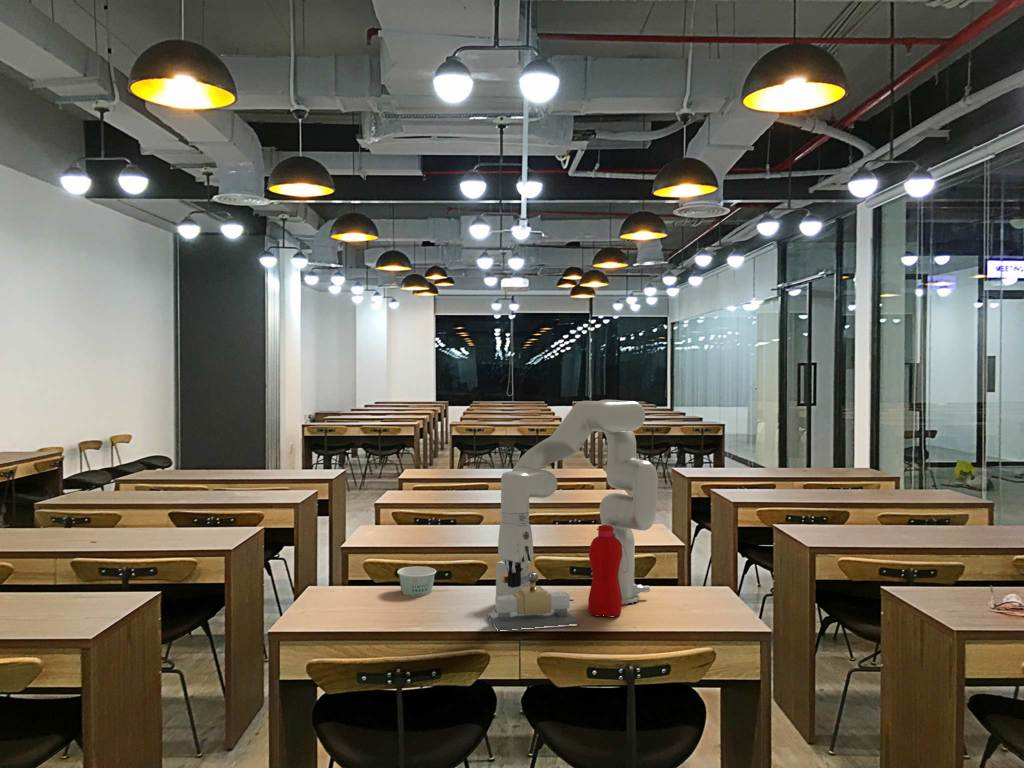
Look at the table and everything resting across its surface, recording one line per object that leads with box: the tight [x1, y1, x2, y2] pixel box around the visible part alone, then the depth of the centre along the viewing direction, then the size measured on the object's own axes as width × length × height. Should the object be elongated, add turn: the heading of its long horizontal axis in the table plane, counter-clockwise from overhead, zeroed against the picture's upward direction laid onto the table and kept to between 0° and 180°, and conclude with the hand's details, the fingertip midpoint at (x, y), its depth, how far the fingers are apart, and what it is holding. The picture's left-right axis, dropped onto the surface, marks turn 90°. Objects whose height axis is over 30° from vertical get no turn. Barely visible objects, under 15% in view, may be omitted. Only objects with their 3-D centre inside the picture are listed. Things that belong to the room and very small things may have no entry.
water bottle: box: [587, 524, 628, 617], centre depth 246 cm, size 9×11×25 cm
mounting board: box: [487, 609, 579, 632], centre depth 238 cm, size 22×12×2 cm, turn 104°
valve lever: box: [501, 571, 539, 583], centre depth 237 cm, size 10×3×2 cm, turn 106°
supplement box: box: [495, 560, 531, 596], centre depth 255 cm, size 7×7×13 cm
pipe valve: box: [494, 581, 571, 621], centre depth 238 cm, size 20×6×10 cm, turn 104°
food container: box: [396, 565, 437, 597], centre depth 268 cm, size 12×12×6 cm
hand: (514, 586), depth 233 cm, fingers closed
